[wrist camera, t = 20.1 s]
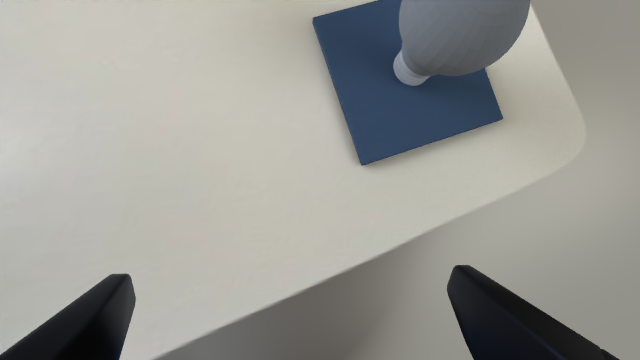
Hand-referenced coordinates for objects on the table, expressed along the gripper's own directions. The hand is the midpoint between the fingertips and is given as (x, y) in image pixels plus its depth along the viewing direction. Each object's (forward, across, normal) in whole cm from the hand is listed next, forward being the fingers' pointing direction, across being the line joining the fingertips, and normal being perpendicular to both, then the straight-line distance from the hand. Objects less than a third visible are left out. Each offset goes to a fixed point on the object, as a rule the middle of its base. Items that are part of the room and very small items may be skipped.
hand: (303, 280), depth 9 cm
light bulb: (+17, -9, -4) cm, 19 cm away
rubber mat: (+17, -9, -3) cm, 20 cm away
